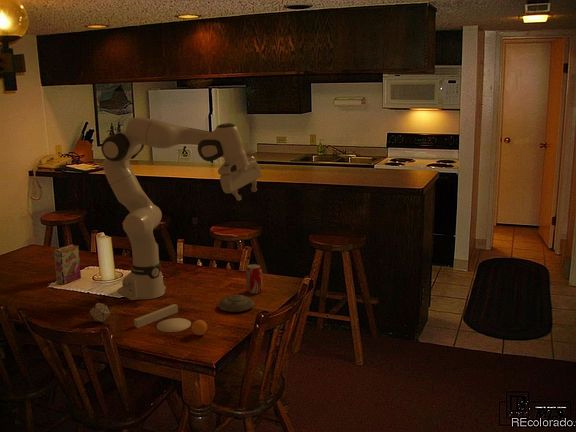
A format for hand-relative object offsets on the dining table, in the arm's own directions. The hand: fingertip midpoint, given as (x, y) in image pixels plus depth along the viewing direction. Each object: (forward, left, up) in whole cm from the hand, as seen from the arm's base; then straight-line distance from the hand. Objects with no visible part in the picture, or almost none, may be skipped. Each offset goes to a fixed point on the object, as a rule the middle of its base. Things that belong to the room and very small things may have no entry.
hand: (247, 195), depth 237 cm
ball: (+7, -35, -43) cm, 56 cm away
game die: (-33, -50, -46) cm, 76 cm away
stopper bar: (-18, -35, -46) cm, 60 cm away
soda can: (-7, +11, -46) cm, 48 cm away
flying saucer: (-1, -7, -46) cm, 47 cm away
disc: (-8, -35, -46) cm, 58 cm away
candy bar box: (-88, -30, -46) cm, 104 cm away
